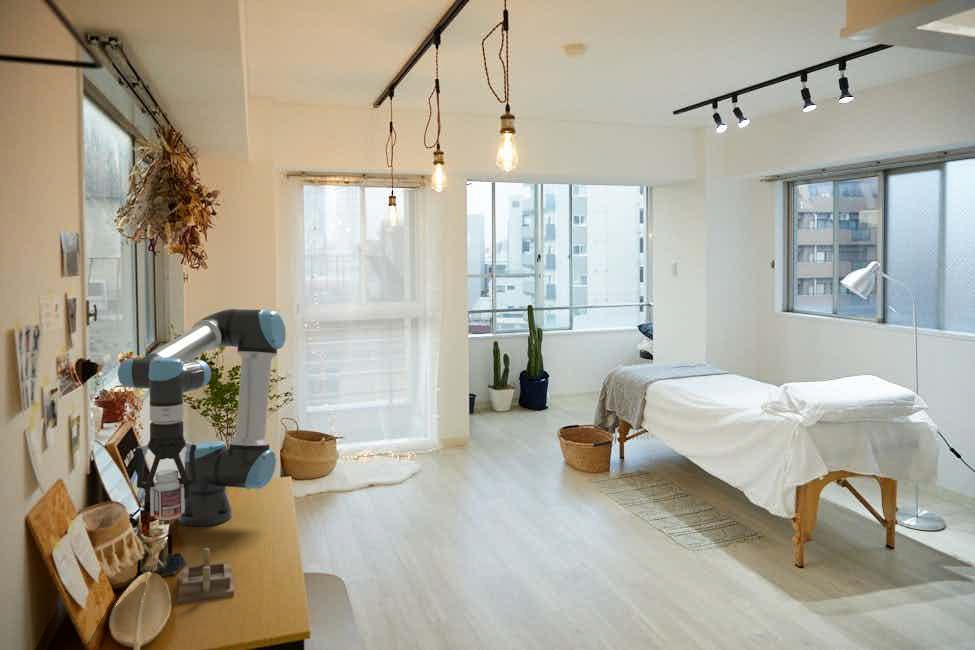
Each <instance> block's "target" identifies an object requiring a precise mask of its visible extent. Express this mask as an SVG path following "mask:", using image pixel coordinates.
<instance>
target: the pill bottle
mask: <svg viewBox="0 0 975 650" xmlns="http://www.w3.org/2000/svg"><path fill="white" fill-rule="evenodd" d="M154 478H155V479H154V480H155V481H156V482H155V483H154V485H153V487H154V516H153V517H154V518H155V519H156V520H157V521H170V520H174V519H177V518H179V516H180V515H181V485H182V484H181V482H180V480H178V479H179V471H178V469H174V468H173V469H172V468H170V469H161V470H158V471H156V473H155V477H154Z"/></svg>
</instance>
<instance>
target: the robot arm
mask: <svg viewBox="0 0 975 650" xmlns="http://www.w3.org/2000/svg"><path fill="white" fill-rule="evenodd" d="M286 337H287V333H286V326H285V321H284V320H283V317H282V316H281V315H280V314H279V313H278V312H277V311H274V310H269V309H268V310H266V309H238V308H237V309H236V308H230V309H224V310H220V311H217V312H215V313H212V314H209V315H208V316H206V317H204V318H203V317H202V318H201V319H200V320H198V321H196V322H195V323H194V324H193V326H192V327H191V329H189V330H188V331H186V332H184V333H182V334H181V335H179V336H177V337H176V338H175V339H172V340H170V341H168V342H167V343H165V344H164V345H162V346H160V347H158V348H157V349H155V350H154V351H151V352H150V353H148V354H146V355H145V356H143V357H141V358H135V357H134V358H125V359H124V360H122V361H121V362H120V364H119V366H118V367H117V368H118V369H117V378H118V381H119V383H120V385H122V386H123V387H126V388H134V389H147V390H148V389H149V421H151V422H150V424H149V441H148V443H147V444H145V445H139V446H137V447H136V451H135V452H136V454H137V458H138V459H137V460H138V462H137V475H136V477H137V478H136V487H137V488H138V489H143V490H144V495H145V496H144V498H145V499H144V500H145V503H150V505H149V507H150V509H149V510H150V517H155V516H154V486H152V484H153V481H154V480H155V479H154V478H155V477H156V472H157V470H158V467H159V465H160V464H159V463H160V461H161V460H163V461H164V460H166V459H168V460H172V459H173V460H174V463H175V466H176V468H177V469H176V470H177V471H178V475H179V477H180V479H181V482H182V484H181V515H180V516H179V517H178V522H179V523H180V524H182V525H185V526H189V527H190V526H191V527H204V526H205V527H206V526H207V527H208V526H213V525H217V524H218V525H219V524H222V523H223V522H224V523H225V522H226V521H228V520H230V519H231V518H232V516H233V515H232V514H233V511H232V509H233V508H232V505H231V503H230V500H229V498H228V495H227V490H226V489H227V488H238V489H240V488H241V489H246V490H252V489H254V490H257V489H258V490H259V489H263V488H265V487H266V486H267V485H268V484H269V483H270V482H271V479H272V477H273V475H274V473H275V470H276V469H275V468H276V464H277V459H276V458H277V457H276V453H275V451H273V450H272V449H270V442H269V441H268V440H267V439H266V429H267V417H268V416H267V415H268V404H269V392H270V388H269V387H270V379H271V367H272V365H271V364H272V360H273V359H274V358H275V357H276V356H277V353H278V350H280V349H282V348H283V346H284V345H285V342H286ZM219 347H220V348H221V347H235V348H237V350H236V352H237V354H238V356H240V358H241V365H240V367H241V368H240V377H239V379H240V380H239V391H238V402H237V403H238V404H237V415H236V426H235V427H236V429H235V437H234V438H233V439H232V440H231V441H230V442H229V447H227V443H226V442H225V441H223V440H214V441H205V442H201V443H196V442H195V441H193V442H187V441H186V440H185V438H184V422H183V419H184V393H187V392H190V391H195V390H199V389H201V388H203V387H205V386H207V384H209V382H210V380H211V377H212V371H211V368H210V367H211V366H209V364H208V363H207V362H206V361H204V360H202V359H197V357H199V356H200V355H202V354H204V353H205V352H206V351H213V350H215V349H218V348H219ZM184 448H186V449H185V452H184V453H185V454H184V461H182V459H181V456H180V453H181V452H182V451H183V449H184ZM148 451H150V452H151V453H152V454H153V455H154V459H153V462H152V465H151V468H150V471H149V474H148V475H147V476H148V477H147V480H146V481H144V473H145V460H146V459H145V456H146V455H147V453H148ZM226 487H227V488H226Z"/></svg>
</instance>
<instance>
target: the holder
mask: <svg viewBox="0 0 975 650" xmlns="http://www.w3.org/2000/svg"><path fill="white" fill-rule="evenodd" d="M210 554H211V549H210V547H205V548H202V564H198V565H197V564H196V565H187V566H186V565H185V566H183V568H182V573H180V575H179V585H178V600H177V601H178V602H177V603H178V604H181V603H190V602H198V601H204V600H205V601H206V600H212V599H213V600H214V599H221V598H229V597H230V598H231V597H235V589H234V588H235V587H234V580H233V579H234V578H233V569H232V567H230V565H229V564H230V563H229V562H230V561H222V562H214V563H212V562H211V557H210V556H211V555H210ZM210 562H211V563H210Z"/></svg>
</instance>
